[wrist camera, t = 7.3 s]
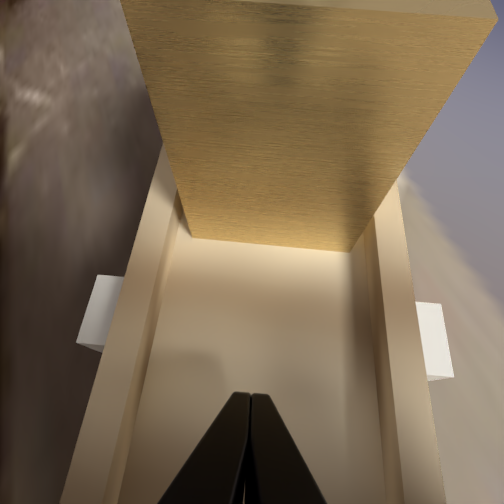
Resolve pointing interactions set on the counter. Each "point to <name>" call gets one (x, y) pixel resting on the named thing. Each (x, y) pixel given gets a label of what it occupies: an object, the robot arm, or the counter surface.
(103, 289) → the fulcrum
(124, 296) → the beam
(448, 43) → the block
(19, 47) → the counter surface
